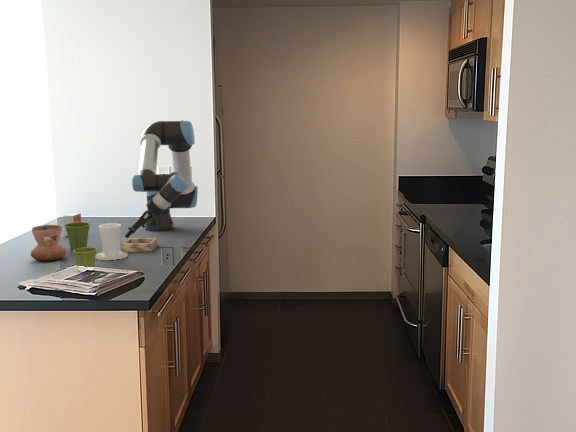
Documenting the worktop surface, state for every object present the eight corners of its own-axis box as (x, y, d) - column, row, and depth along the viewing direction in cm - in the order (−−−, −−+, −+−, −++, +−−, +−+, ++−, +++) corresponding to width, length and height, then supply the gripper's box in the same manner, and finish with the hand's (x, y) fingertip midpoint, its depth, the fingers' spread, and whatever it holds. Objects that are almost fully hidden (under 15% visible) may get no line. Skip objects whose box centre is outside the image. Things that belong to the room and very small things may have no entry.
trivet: (122, 252, 303) (122, 249, 302) (131, 258, 291) (131, 255, 290) (91, 255, 296) (91, 253, 296) (99, 262, 284) (99, 260, 284)
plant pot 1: (69, 252, 303) (67, 227, 302) (62, 247, 313) (61, 223, 311) (95, 248, 310) (93, 225, 308) (88, 244, 320) (86, 221, 318)
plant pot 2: (103, 268, 273) (102, 247, 272) (89, 274, 265) (88, 252, 263) (83, 267, 276) (82, 246, 275) (69, 272, 268) (68, 251, 266)
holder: (157, 245, 316) (157, 237, 315) (151, 251, 303) (150, 244, 302) (129, 245, 316) (128, 238, 316) (121, 251, 303) (121, 244, 303)
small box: (74, 236, 339) (73, 215, 337) (64, 236, 340) (62, 215, 338) (82, 233, 346) (81, 213, 345) (72, 233, 347) (71, 212, 346)
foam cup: (102, 252, 297) (100, 223, 295) (123, 251, 298) (122, 223, 296) (98, 257, 288) (96, 227, 286) (120, 256, 289) (119, 227, 287)
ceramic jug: (66, 262, 285) (64, 229, 282) (30, 265, 280) (27, 231, 278) (66, 253, 302) (64, 222, 299) (32, 255, 297) (30, 224, 295)
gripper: (158, 215, 276) (124, 251, 280) (170, 205, 301) (139, 238, 304) (145, 202, 276) (111, 238, 279) (158, 194, 300) (127, 227, 303)
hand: (125, 238), depth 291 cm, fingers open, 13 cm apart
